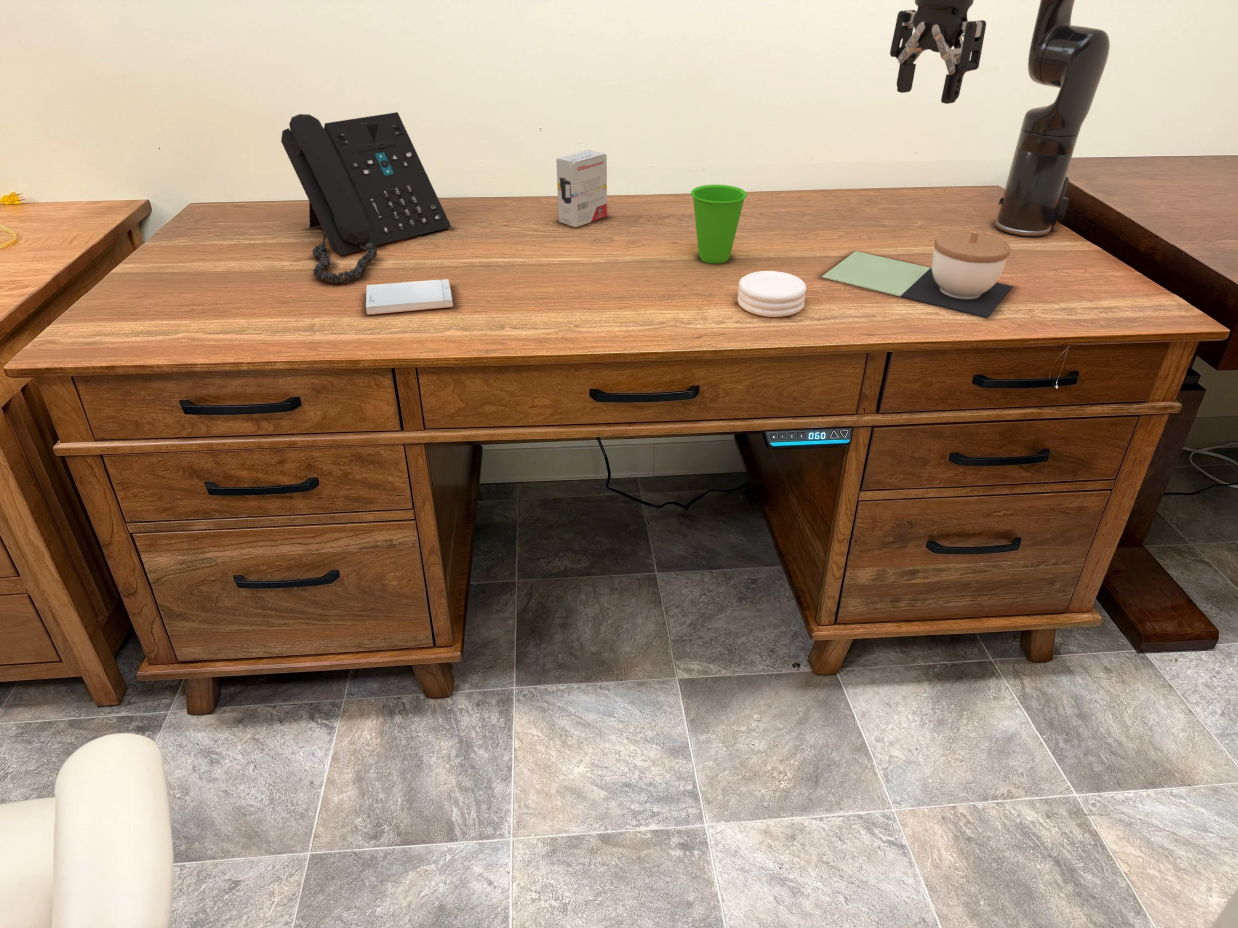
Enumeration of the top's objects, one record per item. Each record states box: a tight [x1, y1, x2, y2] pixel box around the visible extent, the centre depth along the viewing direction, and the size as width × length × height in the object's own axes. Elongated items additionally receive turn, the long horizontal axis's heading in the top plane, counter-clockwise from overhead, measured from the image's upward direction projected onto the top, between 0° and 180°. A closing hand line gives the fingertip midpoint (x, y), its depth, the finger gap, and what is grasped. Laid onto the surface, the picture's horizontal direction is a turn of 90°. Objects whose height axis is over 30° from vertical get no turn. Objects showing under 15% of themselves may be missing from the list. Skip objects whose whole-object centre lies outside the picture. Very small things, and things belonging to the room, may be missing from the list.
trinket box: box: [931, 230, 1011, 299], centre depth 127 cm, size 11×11×9 cm
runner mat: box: [821, 250, 1013, 319], centre depth 133 cm, size 26×14×1 cm, turn 55°
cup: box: [690, 184, 748, 264], centre depth 138 cm, size 9×9×11 cm
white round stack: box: [736, 270, 807, 318], centre depth 125 cm, size 10×10×4 cm
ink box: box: [555, 149, 608, 228], centre depth 154 cm, size 9×5×12 cm, turn 136°
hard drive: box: [365, 278, 454, 316], centre depth 126 cm, size 2×8×12 cm
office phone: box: [280, 111, 452, 284], centre depth 141 cm, size 29×28×20 cm
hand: (925, 97), depth 119 cm, fingers open, 8 cm apart
